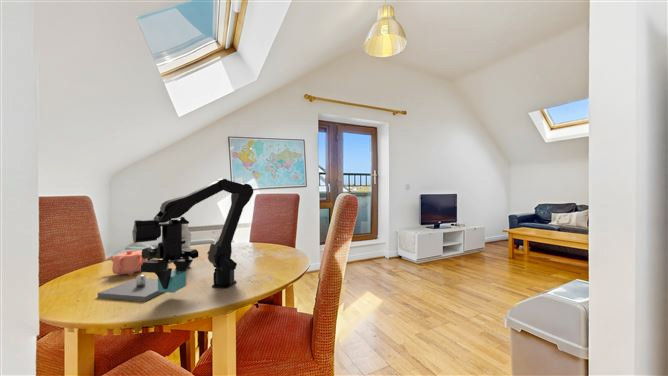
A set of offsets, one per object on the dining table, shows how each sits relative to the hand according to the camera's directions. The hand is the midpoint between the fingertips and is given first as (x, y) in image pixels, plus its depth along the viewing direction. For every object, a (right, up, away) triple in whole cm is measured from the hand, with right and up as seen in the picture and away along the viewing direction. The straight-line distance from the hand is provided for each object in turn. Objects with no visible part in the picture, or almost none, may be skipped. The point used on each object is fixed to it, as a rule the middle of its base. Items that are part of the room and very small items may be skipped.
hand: (172, 285), depth 87 cm
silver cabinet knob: (-15, -3, +7) cm, 17 cm away
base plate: (-15, -4, +7) cm, 17 cm away
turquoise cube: (0, -1, 0) cm, 1 cm away
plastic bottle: (-15, -4, +33) cm, 36 cm away
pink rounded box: (-34, -4, +26) cm, 43 cm away
